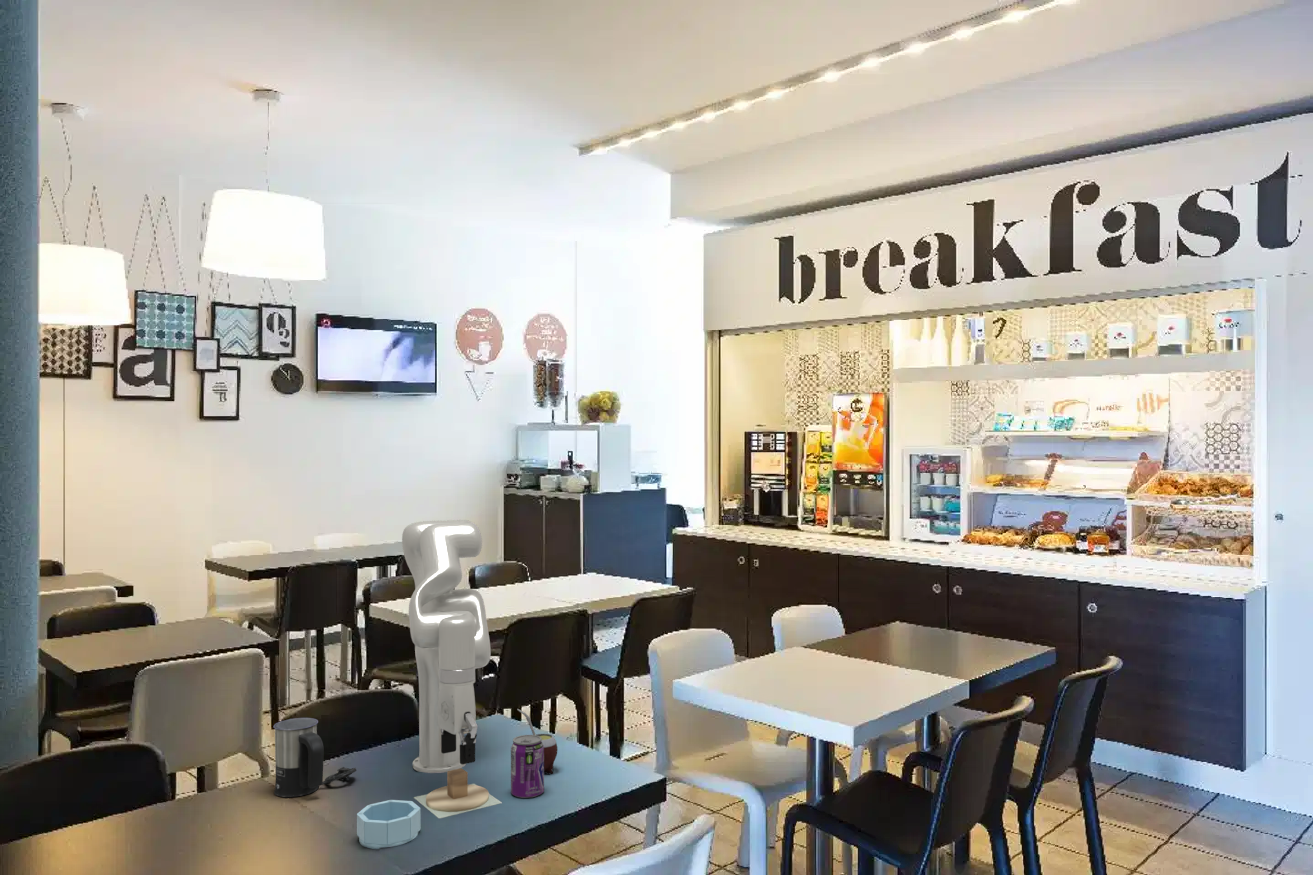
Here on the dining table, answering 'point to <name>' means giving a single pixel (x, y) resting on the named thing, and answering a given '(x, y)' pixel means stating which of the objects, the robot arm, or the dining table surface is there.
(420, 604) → the robot arm
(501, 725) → the dining table surface
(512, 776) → the beverage can
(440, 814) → the mat
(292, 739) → the milk frother
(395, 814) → the bowl
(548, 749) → the mate gourd
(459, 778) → the lid
